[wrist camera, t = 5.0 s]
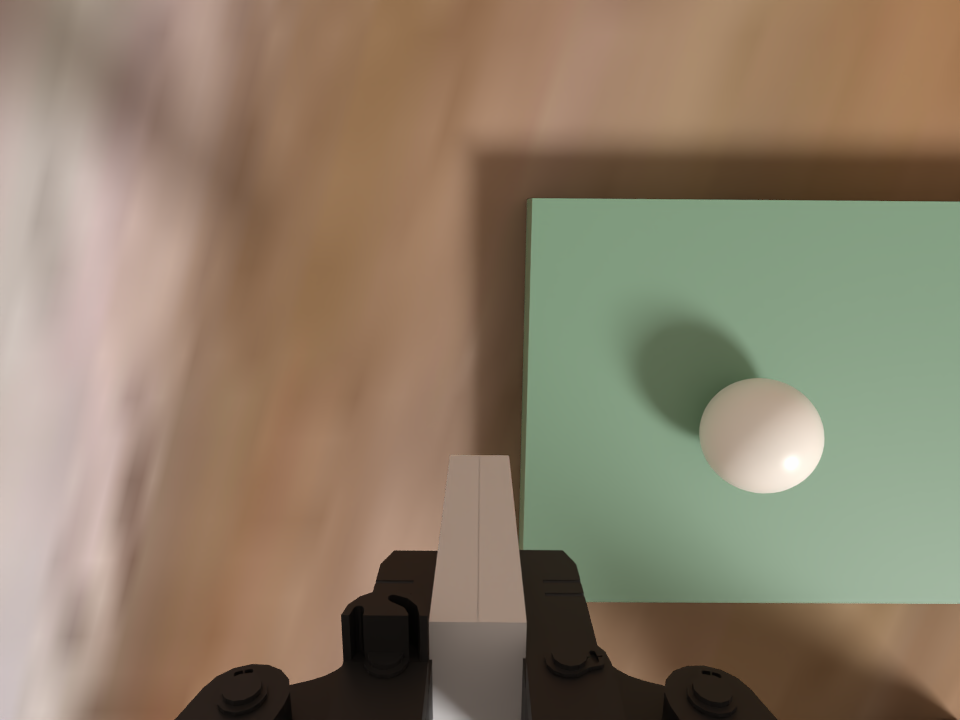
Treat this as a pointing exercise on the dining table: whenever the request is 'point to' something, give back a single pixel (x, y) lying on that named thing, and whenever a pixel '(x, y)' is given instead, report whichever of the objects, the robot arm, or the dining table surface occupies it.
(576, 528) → the putting board
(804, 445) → the ball
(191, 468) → the dining table surface
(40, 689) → the dining table surface
